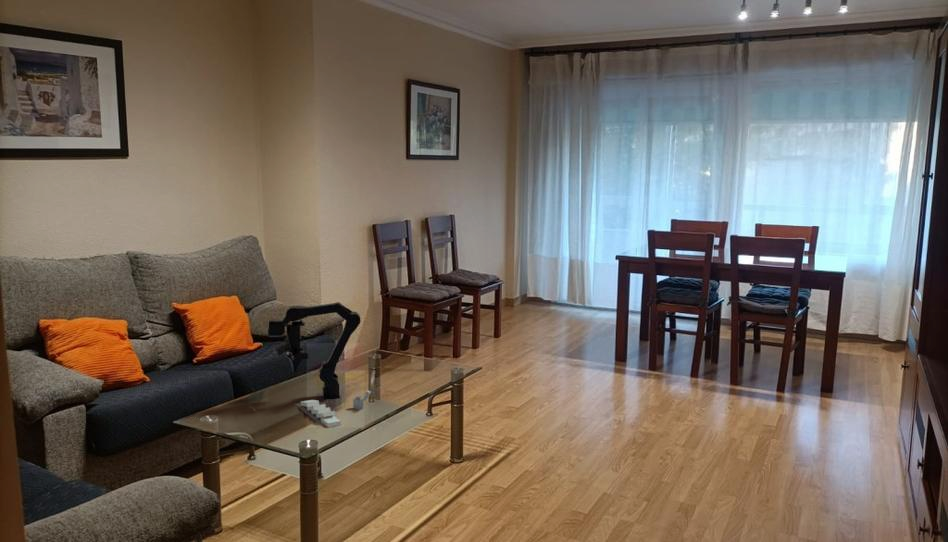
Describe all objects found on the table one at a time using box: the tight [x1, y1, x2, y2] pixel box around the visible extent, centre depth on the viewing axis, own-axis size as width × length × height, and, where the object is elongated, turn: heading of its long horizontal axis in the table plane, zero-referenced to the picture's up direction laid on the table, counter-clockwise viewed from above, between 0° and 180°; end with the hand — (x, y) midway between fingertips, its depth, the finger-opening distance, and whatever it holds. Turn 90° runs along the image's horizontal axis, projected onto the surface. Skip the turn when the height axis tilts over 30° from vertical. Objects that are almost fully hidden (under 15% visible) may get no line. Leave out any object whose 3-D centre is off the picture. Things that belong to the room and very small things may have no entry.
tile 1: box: [307, 403, 327, 411], centre depth 284 cm, size 2×5×8 cm
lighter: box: [352, 389, 372, 410], centre depth 289 cm, size 7×2×8 cm, turn 82°
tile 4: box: [321, 415, 342, 428], centre depth 271 cm, size 2×5×8 cm
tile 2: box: [311, 407, 331, 414], centre depth 280 cm, size 2×5×8 cm
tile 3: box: [316, 410, 336, 418], centre depth 275 cm, size 2×5×8 cm
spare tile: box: [300, 399, 320, 407], centre depth 290 cm, size 2×5×8 cm
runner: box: [294, 402, 324, 425], centre depth 284 cm, size 30×8×1 cm, turn 33°
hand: (294, 371), depth 301 cm, fingers closed
